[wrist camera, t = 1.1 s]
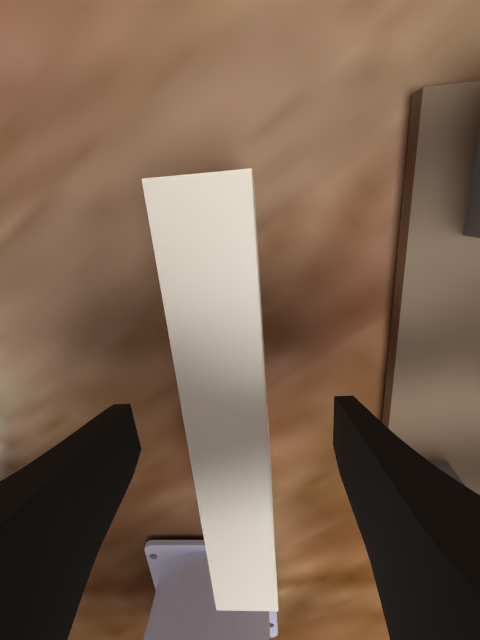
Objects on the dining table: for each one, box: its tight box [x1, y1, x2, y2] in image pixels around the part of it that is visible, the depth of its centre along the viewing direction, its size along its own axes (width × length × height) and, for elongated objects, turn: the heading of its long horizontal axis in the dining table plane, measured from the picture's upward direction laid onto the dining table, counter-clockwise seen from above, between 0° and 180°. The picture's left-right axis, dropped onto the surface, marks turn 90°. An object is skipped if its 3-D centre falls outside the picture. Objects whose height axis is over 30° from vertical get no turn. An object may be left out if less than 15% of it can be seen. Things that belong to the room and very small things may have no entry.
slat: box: [142, 168, 278, 611], centre depth 13 cm, size 16×2×6 cm, turn 5°
